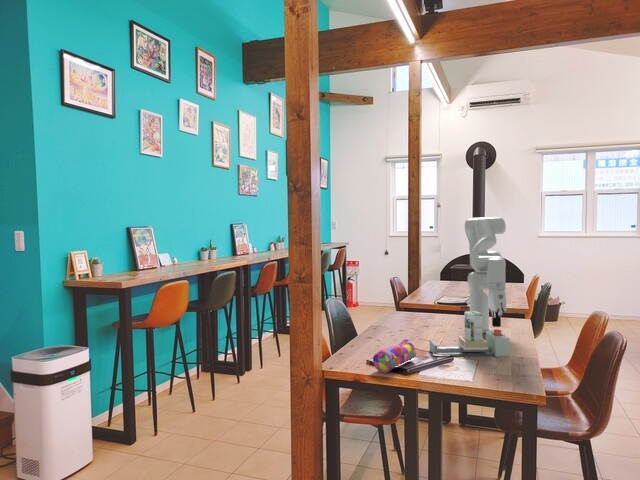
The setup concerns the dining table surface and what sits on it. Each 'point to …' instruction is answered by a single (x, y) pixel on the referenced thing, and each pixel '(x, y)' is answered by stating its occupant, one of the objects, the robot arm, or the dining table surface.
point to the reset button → (497, 332)
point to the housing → (498, 344)
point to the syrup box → (473, 326)
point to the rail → (457, 351)
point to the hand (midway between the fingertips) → (496, 326)
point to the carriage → (472, 345)
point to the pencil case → (394, 356)
